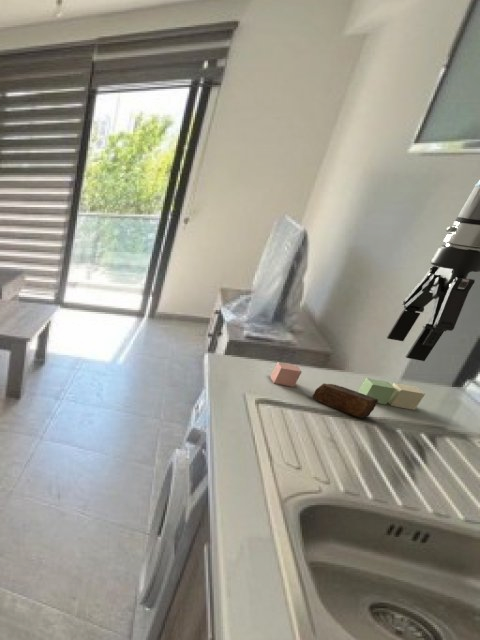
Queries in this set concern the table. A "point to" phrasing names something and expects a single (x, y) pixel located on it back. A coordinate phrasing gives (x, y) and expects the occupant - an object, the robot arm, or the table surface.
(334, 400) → the brick
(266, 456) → the table surface
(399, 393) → the cube cream
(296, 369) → the cube rose
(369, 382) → the cube sage
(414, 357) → the robot arm
